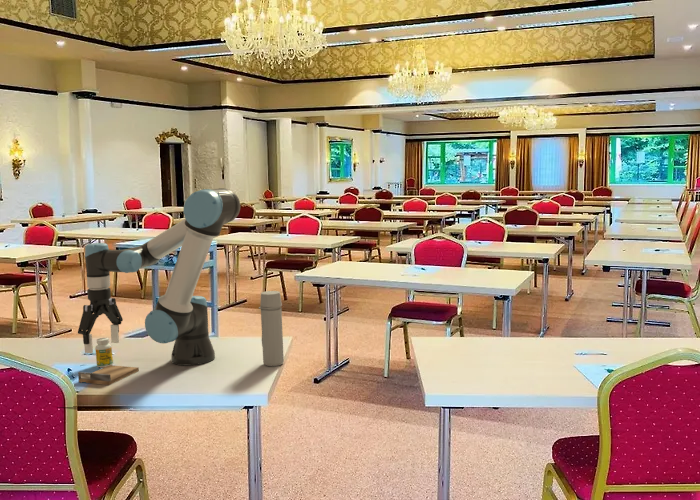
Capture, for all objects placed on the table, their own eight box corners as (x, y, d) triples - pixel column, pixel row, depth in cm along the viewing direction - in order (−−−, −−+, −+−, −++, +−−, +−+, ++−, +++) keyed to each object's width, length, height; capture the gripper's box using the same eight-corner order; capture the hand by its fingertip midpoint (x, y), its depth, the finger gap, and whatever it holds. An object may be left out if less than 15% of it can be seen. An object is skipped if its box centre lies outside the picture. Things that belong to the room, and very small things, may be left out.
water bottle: (289, 363, 226) (286, 292, 223) (271, 368, 220) (268, 295, 217) (272, 358, 232) (268, 289, 229) (254, 363, 227) (251, 292, 224)
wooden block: (138, 371, 222) (138, 361, 222) (108, 385, 208) (108, 375, 208) (109, 368, 226) (108, 359, 226) (78, 382, 212) (77, 372, 212)
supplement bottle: (111, 362, 233) (109, 336, 232) (114, 366, 229) (112, 339, 228) (95, 365, 231) (93, 338, 229) (98, 369, 226) (96, 341, 225)
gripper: (113, 281, 239) (116, 337, 242) (63, 294, 216) (67, 356, 219) (130, 282, 237) (133, 339, 240) (82, 295, 214) (86, 358, 216)
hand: (102, 347), depth 229 cm, fingers open, 13 cm apart
